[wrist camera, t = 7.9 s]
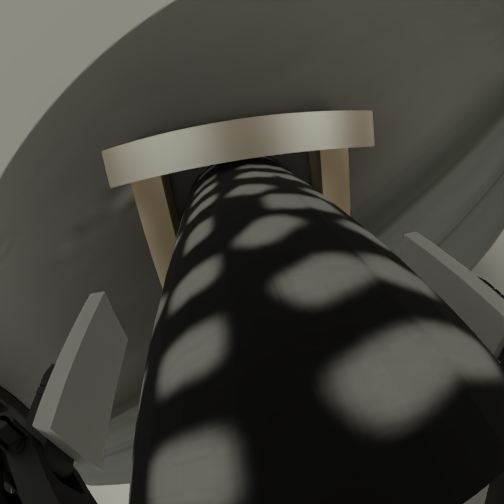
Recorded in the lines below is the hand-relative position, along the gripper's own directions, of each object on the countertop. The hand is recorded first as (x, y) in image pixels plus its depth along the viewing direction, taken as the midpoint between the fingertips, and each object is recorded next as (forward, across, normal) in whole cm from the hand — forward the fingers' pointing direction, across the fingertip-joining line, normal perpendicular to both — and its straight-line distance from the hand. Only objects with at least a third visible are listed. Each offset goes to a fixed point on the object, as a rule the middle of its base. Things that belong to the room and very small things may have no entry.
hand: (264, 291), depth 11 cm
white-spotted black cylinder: (+11, 0, 0) cm, 11 cm away
